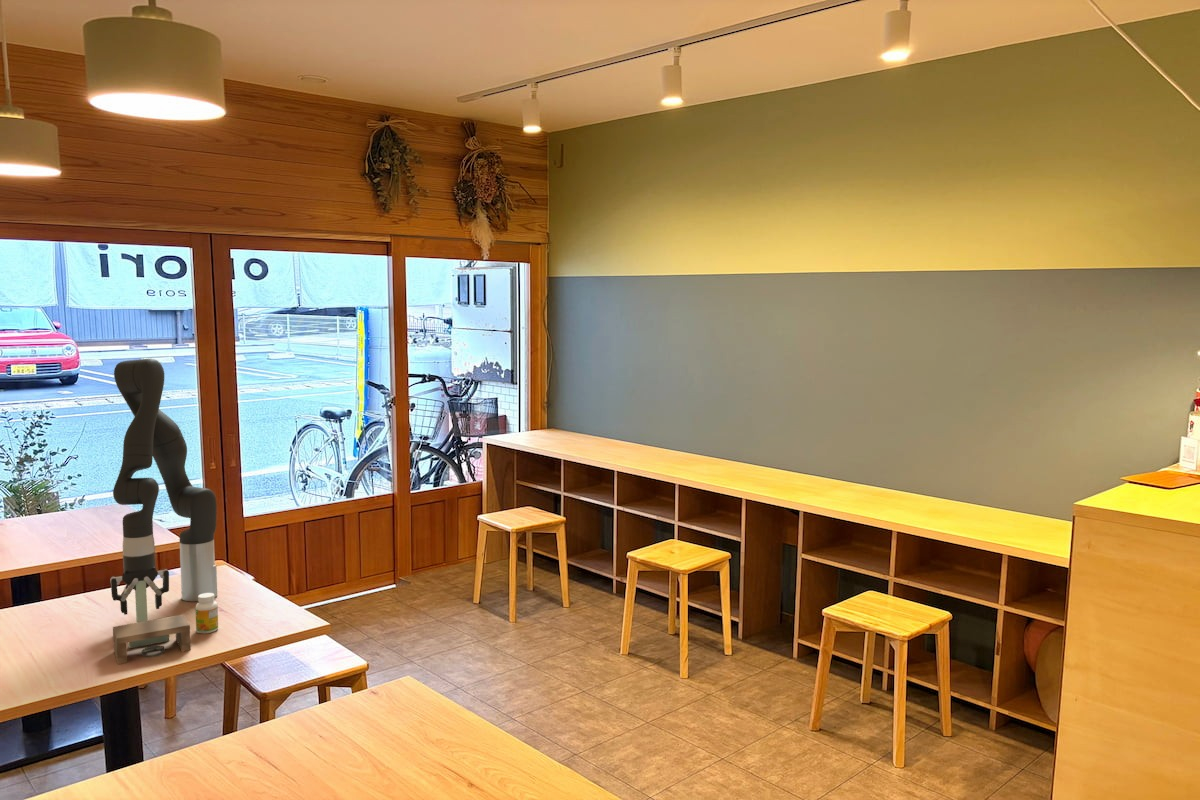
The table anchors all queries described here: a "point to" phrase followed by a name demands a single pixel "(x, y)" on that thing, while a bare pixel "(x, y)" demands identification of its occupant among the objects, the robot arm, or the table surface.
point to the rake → (143, 616)
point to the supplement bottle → (206, 613)
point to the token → (153, 651)
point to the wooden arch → (150, 633)
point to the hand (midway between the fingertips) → (141, 610)
